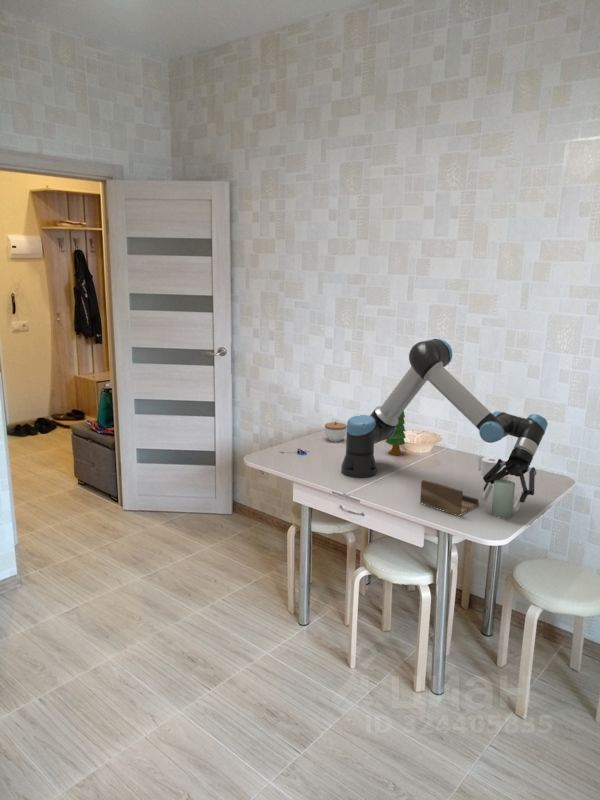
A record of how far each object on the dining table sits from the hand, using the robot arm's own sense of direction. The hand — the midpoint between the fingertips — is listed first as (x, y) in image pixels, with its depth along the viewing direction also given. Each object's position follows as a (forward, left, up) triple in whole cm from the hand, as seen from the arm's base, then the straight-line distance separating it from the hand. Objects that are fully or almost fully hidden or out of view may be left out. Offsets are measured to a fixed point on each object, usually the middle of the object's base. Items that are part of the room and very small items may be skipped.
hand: (499, 504), depth 214 cm
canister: (+2, +2, -5) cm, 5 cm away
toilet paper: (+15, +45, -5) cm, 48 cm away
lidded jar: (-43, +98, -5) cm, 107 cm away
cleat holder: (-14, +12, -5) cm, 19 cm away
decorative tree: (-18, +76, -5) cm, 78 cm away
